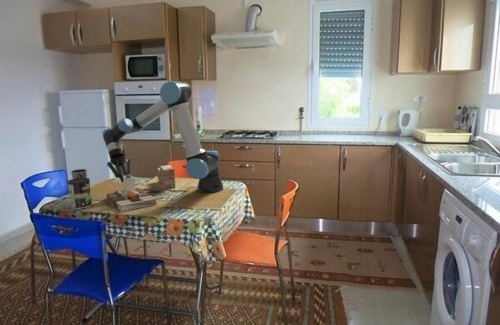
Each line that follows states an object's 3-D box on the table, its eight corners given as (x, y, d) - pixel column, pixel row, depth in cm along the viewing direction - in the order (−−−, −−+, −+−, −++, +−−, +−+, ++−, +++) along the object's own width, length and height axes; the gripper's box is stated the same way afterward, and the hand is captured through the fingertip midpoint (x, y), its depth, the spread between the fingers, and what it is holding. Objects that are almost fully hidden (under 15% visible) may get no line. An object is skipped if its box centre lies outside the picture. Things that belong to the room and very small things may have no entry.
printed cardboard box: (158, 181, 239) (156, 163, 237) (167, 180, 242) (166, 162, 239) (165, 189, 220) (163, 169, 218) (175, 188, 223) (174, 168, 220)
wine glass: (92, 195, 211) (89, 170, 208) (77, 199, 206) (74, 172, 203) (86, 193, 217) (83, 168, 214) (72, 196, 211) (68, 170, 208)
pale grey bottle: (124, 196, 197) (122, 174, 195) (134, 194, 200) (132, 173, 198) (126, 197, 195) (124, 175, 192) (135, 195, 197) (133, 174, 195)
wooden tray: (106, 198, 204) (106, 191, 203) (138, 192, 214) (138, 185, 213) (121, 211, 182) (120, 203, 181) (156, 204, 192) (155, 196, 191)
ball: (138, 191, 194) (137, 195, 197) (131, 187, 194) (130, 192, 197) (133, 195, 191) (132, 200, 194) (127, 192, 191) (126, 197, 194)
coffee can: (96, 203, 196) (93, 177, 194) (84, 209, 187) (81, 182, 184) (79, 202, 199) (76, 177, 196) (66, 208, 189) (63, 182, 186)
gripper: (126, 154, 215) (137, 188, 204) (102, 157, 207) (113, 192, 197) (127, 146, 209) (140, 180, 199) (104, 149, 202) (115, 184, 192)
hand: (126, 186), depth 198 cm, fingers closed
